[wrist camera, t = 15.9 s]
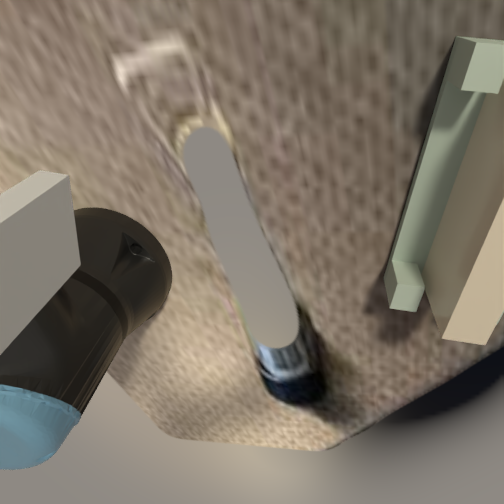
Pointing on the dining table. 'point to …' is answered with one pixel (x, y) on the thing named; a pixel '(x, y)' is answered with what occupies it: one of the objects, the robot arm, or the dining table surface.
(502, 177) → the clay slat
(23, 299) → the robot arm
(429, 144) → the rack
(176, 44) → the dining table surface
